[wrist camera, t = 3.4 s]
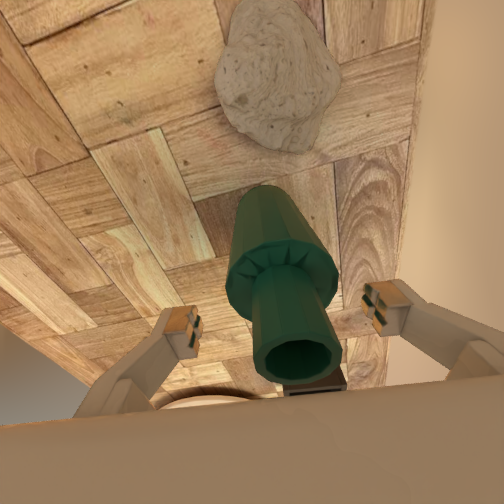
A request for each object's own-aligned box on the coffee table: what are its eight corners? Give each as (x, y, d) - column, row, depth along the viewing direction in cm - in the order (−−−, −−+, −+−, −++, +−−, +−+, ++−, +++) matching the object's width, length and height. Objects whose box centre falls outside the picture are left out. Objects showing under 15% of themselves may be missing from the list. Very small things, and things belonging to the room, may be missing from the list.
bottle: (292, 180, 20) (400, 289, 6) (294, 235, 23) (369, 395, 9) (232, 189, 20) (195, 313, 6) (242, 243, 23) (232, 407, 9)
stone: (353, 150, 16) (232, 170, 14) (321, 147, 20) (223, 163, 18) (381, -51, 11) (197, -56, 9) (331, -2, 15) (195, 1, 13)
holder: (333, 348, 33) (347, 384, 28) (330, 378, 37) (342, 414, 33) (278, 354, 33) (283, 390, 29) (282, 383, 38) (286, 418, 33)
